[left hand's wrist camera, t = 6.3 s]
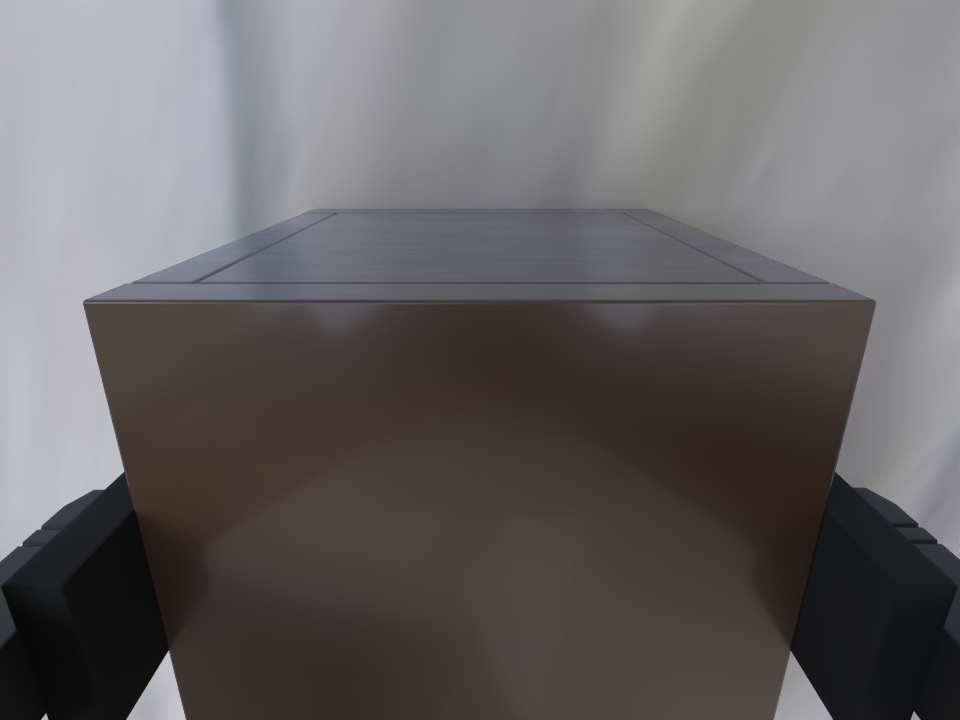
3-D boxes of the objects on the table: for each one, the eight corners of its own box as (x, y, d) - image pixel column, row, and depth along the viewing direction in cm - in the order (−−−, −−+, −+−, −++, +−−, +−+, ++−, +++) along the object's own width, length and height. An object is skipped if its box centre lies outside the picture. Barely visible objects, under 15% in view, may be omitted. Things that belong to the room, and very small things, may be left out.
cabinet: (601, 687, 24) (687, 1074, 14) (359, 687, 24) (272, 1073, 14) (648, 209, 17) (879, 300, 7) (311, 209, 17) (80, 300, 7)
